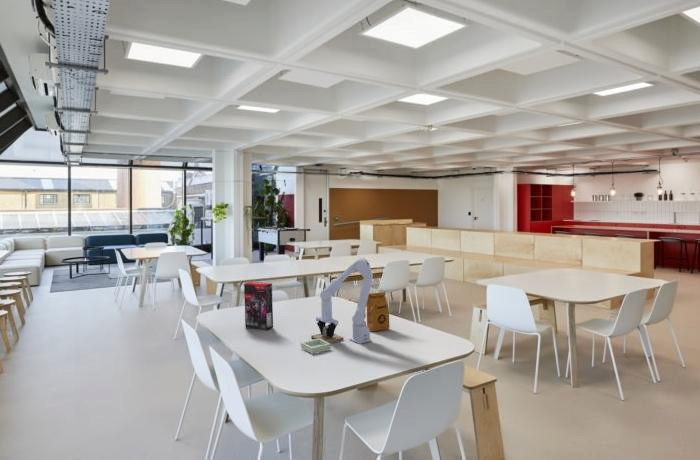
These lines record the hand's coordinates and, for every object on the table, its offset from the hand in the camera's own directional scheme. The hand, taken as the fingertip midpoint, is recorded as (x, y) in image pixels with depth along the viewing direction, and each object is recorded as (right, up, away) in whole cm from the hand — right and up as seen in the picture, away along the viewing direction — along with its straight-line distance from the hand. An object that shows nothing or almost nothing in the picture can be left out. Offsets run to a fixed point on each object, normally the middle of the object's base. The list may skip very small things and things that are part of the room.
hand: (327, 335), depth 235 cm
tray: (-5, -3, -15) cm, 17 cm away
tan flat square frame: (0, -2, 0) cm, 2 cm away
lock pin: (0, -2, 0) cm, 2 cm away
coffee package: (+29, -1, +16) cm, 33 cm away
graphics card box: (-42, -2, +24) cm, 49 cm away
